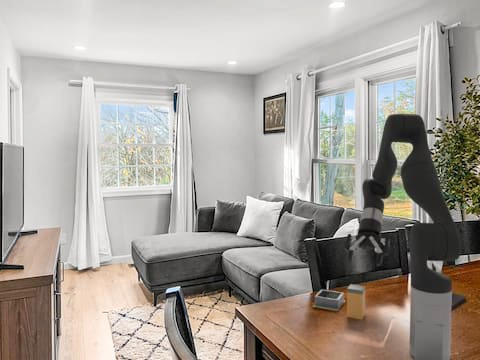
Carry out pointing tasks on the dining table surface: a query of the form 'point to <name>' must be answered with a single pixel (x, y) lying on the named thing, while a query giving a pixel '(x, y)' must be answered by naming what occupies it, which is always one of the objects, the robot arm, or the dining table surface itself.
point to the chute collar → (329, 299)
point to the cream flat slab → (328, 308)
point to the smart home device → (457, 300)
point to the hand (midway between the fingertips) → (364, 263)
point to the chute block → (356, 301)
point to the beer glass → (435, 265)
